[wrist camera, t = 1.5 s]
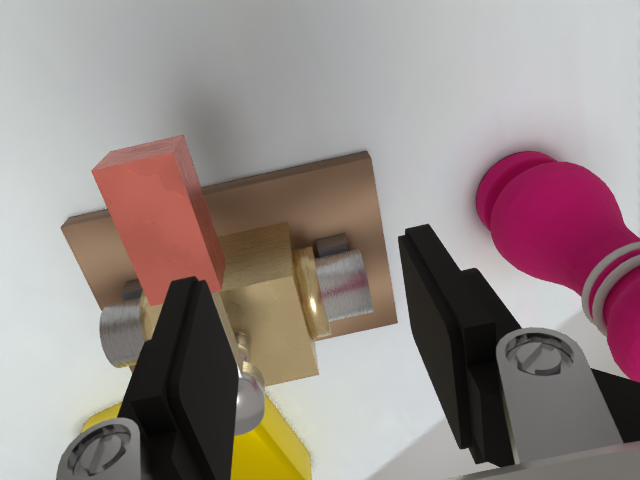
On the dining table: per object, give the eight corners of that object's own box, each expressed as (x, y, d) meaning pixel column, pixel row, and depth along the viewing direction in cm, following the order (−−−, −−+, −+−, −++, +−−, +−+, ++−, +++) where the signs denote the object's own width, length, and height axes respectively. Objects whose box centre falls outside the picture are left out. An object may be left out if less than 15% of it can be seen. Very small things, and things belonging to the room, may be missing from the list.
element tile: (177, 519, 48) (168, 572, 43) (74, 421, 41) (51, 471, 37) (318, 460, 46) (323, 508, 41) (233, 347, 39) (229, 390, 35)
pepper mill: (585, 201, 36) (900, 412, 18) (497, 258, 37) (706, 505, 19) (543, 121, 33) (870, 277, 15) (449, 186, 34) (644, 399, 16)
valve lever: (271, 392, 26) (271, 428, 24) (212, 405, 26) (207, 442, 24) (185, 134, 20) (175, 151, 18) (107, 151, 20) (88, 171, 18)
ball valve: (109, 261, 33) (49, 362, 24) (348, 207, 33) (377, 289, 24) (147, 343, 36) (107, 460, 27) (365, 295, 36) (396, 396, 27)
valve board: (69, 217, 33) (60, 227, 31) (366, 150, 33) (371, 157, 31) (140, 367, 39) (135, 380, 37) (393, 311, 38) (397, 323, 37)
